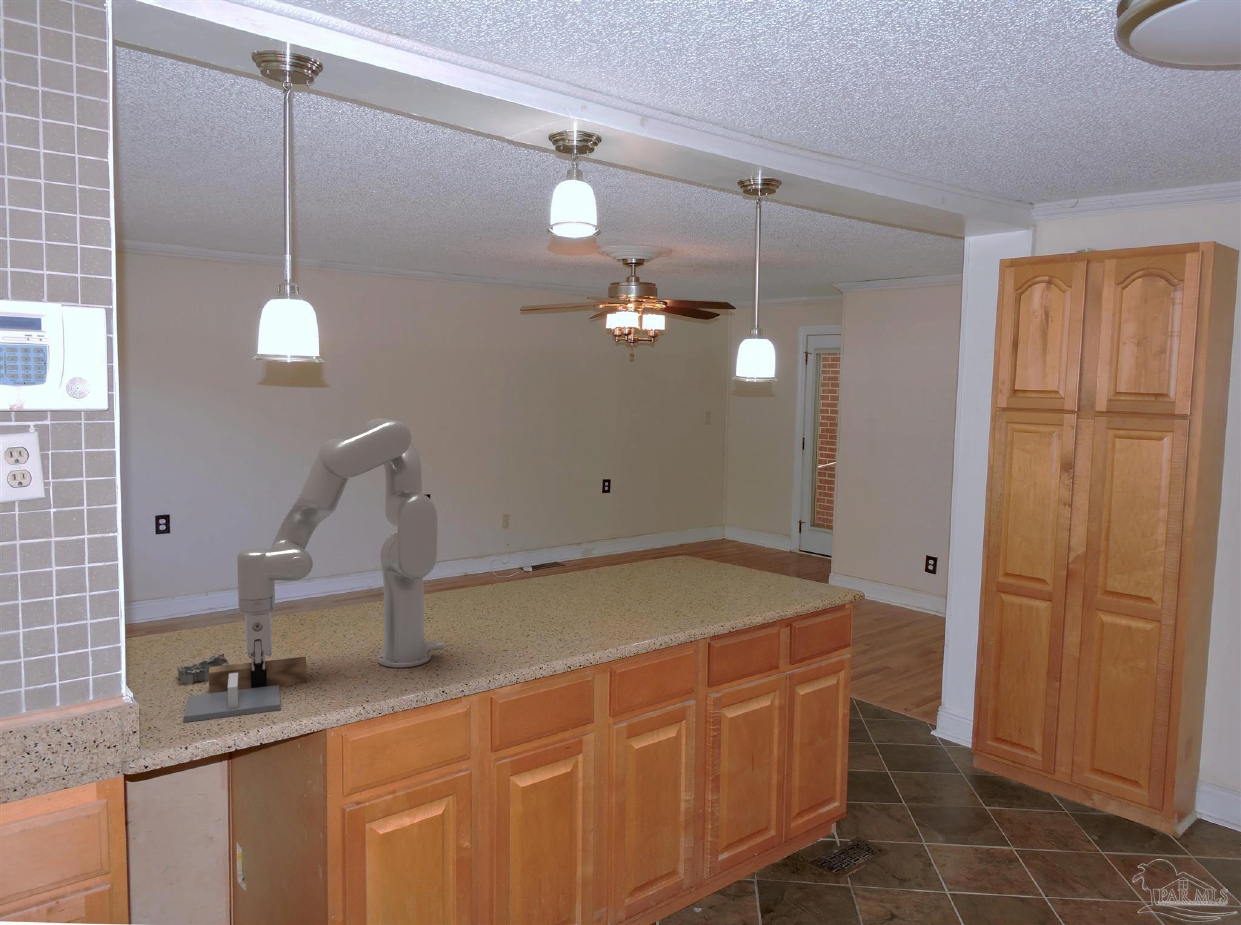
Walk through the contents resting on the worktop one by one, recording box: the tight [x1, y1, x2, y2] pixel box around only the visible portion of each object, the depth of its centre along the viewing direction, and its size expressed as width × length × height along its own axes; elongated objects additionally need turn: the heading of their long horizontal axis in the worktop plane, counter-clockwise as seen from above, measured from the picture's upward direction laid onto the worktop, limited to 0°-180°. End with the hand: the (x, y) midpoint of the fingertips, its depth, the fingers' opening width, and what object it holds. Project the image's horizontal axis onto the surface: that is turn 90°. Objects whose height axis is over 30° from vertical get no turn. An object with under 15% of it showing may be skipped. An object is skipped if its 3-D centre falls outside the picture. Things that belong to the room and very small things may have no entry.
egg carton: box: [176, 653, 231, 685], centre depth 195 cm, size 11×8×4 cm
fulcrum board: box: [183, 673, 281, 723], centre depth 178 cm, size 18×12×6 cm, turn 113°
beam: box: [208, 656, 308, 694], centre depth 190 cm, size 20×4×5 cm, turn 113°
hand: (259, 682), depth 191 cm, fingers closed on beam, 4 cm apart
